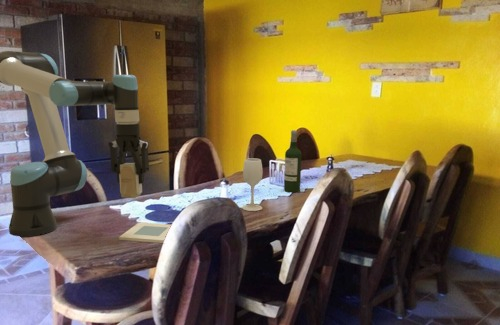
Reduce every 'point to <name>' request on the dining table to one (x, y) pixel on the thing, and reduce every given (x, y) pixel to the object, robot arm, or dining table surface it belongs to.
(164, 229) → the tile
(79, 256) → the dining table surface
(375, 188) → the dining table surface
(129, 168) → the box
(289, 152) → the wine bottle
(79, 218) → the dining table surface
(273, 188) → the dining table surface
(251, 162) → the wineglass
